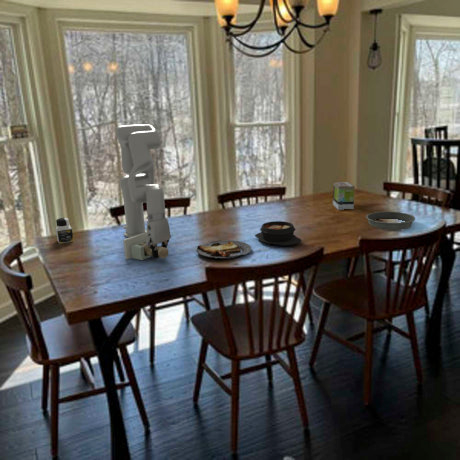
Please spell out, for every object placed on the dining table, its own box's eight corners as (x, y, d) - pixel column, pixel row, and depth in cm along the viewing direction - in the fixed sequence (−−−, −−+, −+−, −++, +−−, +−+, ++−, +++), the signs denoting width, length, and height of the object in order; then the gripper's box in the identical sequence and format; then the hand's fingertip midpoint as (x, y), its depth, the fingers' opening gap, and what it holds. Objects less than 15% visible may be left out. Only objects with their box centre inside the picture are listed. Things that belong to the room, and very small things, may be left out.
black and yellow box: (59, 244, 228) (55, 221, 225) (57, 240, 234) (53, 218, 231) (73, 241, 231) (70, 219, 228) (71, 238, 237) (68, 216, 234)
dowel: (139, 254, 203) (138, 244, 202) (147, 251, 207) (146, 241, 205) (161, 259, 195) (160, 249, 194) (168, 256, 198) (168, 246, 197)
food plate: (207, 264, 191) (207, 256, 190) (189, 249, 211) (189, 242, 211) (259, 256, 201) (259, 248, 200) (237, 242, 221) (237, 235, 220)
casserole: (246, 240, 222) (245, 224, 220) (273, 232, 233) (273, 216, 231) (282, 252, 203) (282, 234, 201) (310, 243, 214) (310, 226, 212)
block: (131, 257, 202) (130, 245, 201) (148, 251, 210) (147, 239, 208) (141, 260, 199) (140, 247, 197) (158, 253, 206) (157, 241, 205)
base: (125, 258, 202) (123, 239, 200) (148, 250, 213) (146, 231, 210) (127, 259, 201) (125, 240, 199) (150, 250, 212) (148, 232, 210)
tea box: (354, 209, 272) (355, 185, 268) (337, 210, 273) (338, 186, 268) (348, 204, 287) (349, 181, 283) (332, 204, 287) (333, 181, 283)
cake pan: (394, 217, 254) (394, 209, 253) (425, 228, 231) (425, 219, 230) (356, 222, 247) (356, 214, 246) (384, 233, 224) (384, 225, 223)
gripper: (148, 222, 185) (152, 263, 190) (176, 213, 197) (179, 252, 203) (135, 219, 189) (139, 260, 194) (164, 211, 202) (167, 249, 207)
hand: (160, 255), depth 198 cm, fingers closed on dowel, 4 cm apart
